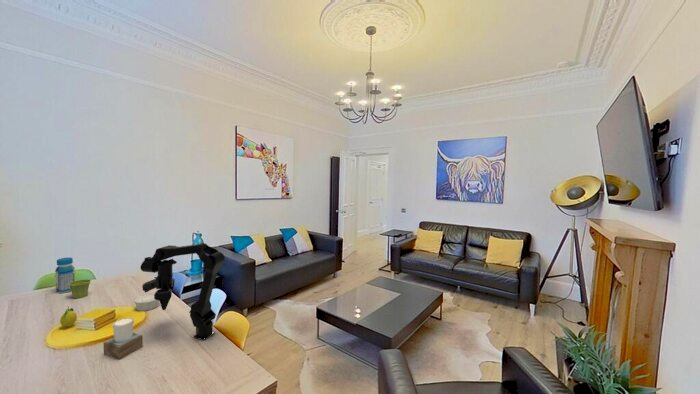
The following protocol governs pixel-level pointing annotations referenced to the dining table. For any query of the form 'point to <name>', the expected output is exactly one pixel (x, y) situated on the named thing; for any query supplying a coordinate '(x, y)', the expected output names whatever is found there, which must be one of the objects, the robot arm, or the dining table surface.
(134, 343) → the walnut plinth
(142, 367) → the dining table surface
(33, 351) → the dining table surface
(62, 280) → the beverage bottle
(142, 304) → the ramekin
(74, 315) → the green pear
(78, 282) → the plant pot
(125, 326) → the shot glass
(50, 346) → the dining table surface
